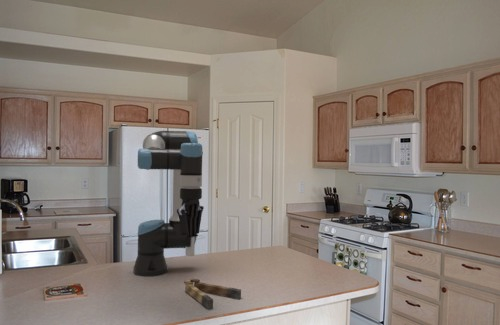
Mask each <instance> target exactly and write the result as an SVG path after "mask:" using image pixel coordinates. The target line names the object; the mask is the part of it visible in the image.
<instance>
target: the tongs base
mask: <svg viewBox="0 0 500 325" xmlns="http://www.w3.org/2000/svg"><path fill="white" fill-rule="evenodd" d="M189 281H190V282H192V285H193V286H195V287H196V288H198V289H199V290H200V291H202V292H203V293H205V294H211V295H215V296H220V297H221V296H222V297H224V298H225V297H226V298H230V299H235V300H240V299H241V298H242V289H241V288H240V289H239V288H235V287H228V286H222V285H218V284H217V285H216V284H211V283H207V282H201V281H200V279H198V278H191V279H190V280H189Z"/></svg>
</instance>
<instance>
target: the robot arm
mask: <svg viewBox="0 0 500 325" xmlns="http://www.w3.org/2000/svg"><path fill="white" fill-rule="evenodd" d="M203 154H204V153H203V145H202V144H201V143H199V141H198V137H197V134H196V133H195V132H194V131H187V130H182V131H181V130H179V131H178V130H159V131H158V130H157V131H154V132H152V133H150V134H148V135H147V136H145V138H144V139H143V141H142V148H139V149H138V150H137V168H138V169H139V170H168V171H169V170H173V172H172V174H173V175H172V215H171V216H170V218H169V219H168V222H165V220H164V219H152V220H146V221H142V222H141V223H139V225H138V228H137V256H136V260H135V262H134V265H133V272H132V273H133V274H134V275H136V276H140V277H156V276H162V275H164V274H166V273H167V272H168V264H167V261H166V256H165V252H164V251H165V250H166V249H185V257H187V256H188V257H194V256H195V250H196V249H195V247H196V246H195V245H196V243H197V242H196V241H197V237H199V234H200V228H201V223H202V217H203V216H202V215H203V211H204V206H203V205H201V204H200V200H202V198H203V190H202V188H201V187H202V186H203ZM164 249H165V250H164Z"/></svg>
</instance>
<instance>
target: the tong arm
mask: <svg viewBox="0 0 500 325" xmlns="http://www.w3.org/2000/svg"><path fill="white" fill-rule="evenodd" d="M183 283H184V284H185V292H186V293H187V294H188V295H189V296H191V297H192V298H194V299H195V300H196V301H197V302H199V304H201V305H202V306H204V307H205V308H206V309H208V310H209V309H213V308H214V298H212V297H211V296H209V295H208V294H207V293H205V292H202V291H200V290H199V289H198V288H196V287H195V286H194V284H193V285H192V282H190V280H189V279H188V280H184V282H183Z"/></svg>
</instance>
